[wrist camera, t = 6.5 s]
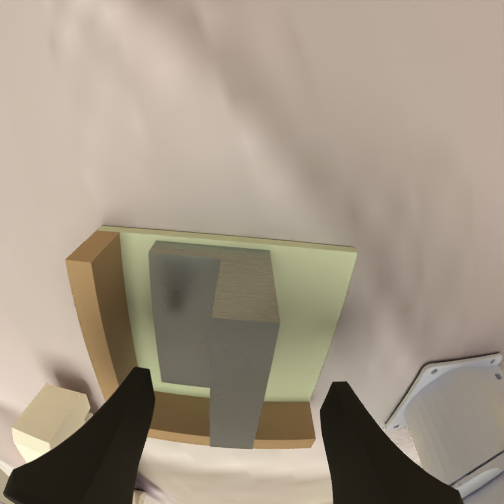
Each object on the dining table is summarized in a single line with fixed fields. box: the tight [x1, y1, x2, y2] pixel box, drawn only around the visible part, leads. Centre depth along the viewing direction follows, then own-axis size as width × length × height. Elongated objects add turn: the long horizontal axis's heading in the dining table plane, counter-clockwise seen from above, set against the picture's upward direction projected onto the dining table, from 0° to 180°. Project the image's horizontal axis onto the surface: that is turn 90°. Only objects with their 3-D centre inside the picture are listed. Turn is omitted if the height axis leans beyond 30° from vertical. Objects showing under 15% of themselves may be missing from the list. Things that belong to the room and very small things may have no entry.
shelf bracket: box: [12, 383, 146, 504], centre depth 20 cm, size 6×25×13 cm, turn 177°
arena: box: [66, 226, 358, 449], centre depth 15 cm, size 12×12×4 cm
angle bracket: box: [148, 240, 280, 449], centre depth 13 cm, size 8×5×5 cm, turn 174°
